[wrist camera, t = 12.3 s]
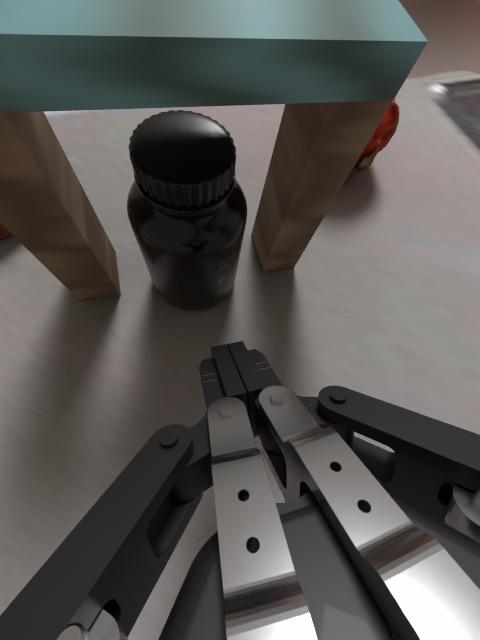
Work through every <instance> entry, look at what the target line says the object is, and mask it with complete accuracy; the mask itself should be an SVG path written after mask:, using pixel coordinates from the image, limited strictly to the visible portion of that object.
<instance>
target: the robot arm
mask: <svg viewBox="0 0 480 640" xmlns="http://www.w3.org/2000/svg"><path fill="white" fill-rule="evenodd" d="M211 352H212V358H211V359H206V360H202V362H201V364H200V367H199V370H200V375H201V381H202V387H203V392H204V397H205V402H206V407H207V412H206V414H205V416H204V418H203V419H202V420H201V421H200V422H198V423H197V424H195V425H194V426H192V427H190V428H186V427H185V426H183V425H178V424H174V425H168V426H165V427H163V428H161V429H160V430H158V431H157V432H156V433H155V434H154V435H153V436H152V437H151V438H150V439H149V440H148V442H147V443H146V444H145V445H144V446H143V448H142V449H141V450H140V451H139V452H138V453H137V455H136V456H135V457H134V458H133V459H132V461H131V462H130V463H129V464H128V465H127V466H126V468H125V469H124V470H123V471H122V472H121V474H120V475H119V476H118V477H117V478H116V480H115V481H114V482H113V483H112V484H111V485H110V487H109V488H108V489H107V490H106V491H105V493H104V494H103V495H102V496H101V497H100V498H99V500H98V501H97V502H96V503H95V504H94V506H93V507H92V508H91V509H90V510H89V511H88V513H87V514H86V515H85V516H84V517H83V519H82V520H81V521H80V522H79V523H78V524H77V526H76V527H75V528H74V529H73V530H72V532H71V533H70V534H69V535H68V536H67V537H66V539H65V540H64V541H63V542H62V543H61V545H60V546H59V547H58V548H57V549H56V550H55V552H54V553H53V554H52V555H51V556H50V558H49V559H48V560H47V561H46V562H45V563H44V565H43V566H42V567H41V568H40V569H39V571H38V572H37V573H36V574H35V575H34V576H33V578H32V579H31V580H30V581H29V582H28V584H27V585H26V586H25V587H24V588H23V590H22V591H21V592H20V593H19V594H18V595H17V597H16V598H15V599H14V600H13V601H12V603H11V604H10V605H9V606H8V607H7V608H6V610H5V611H4V612H3V613H2V614H1V616H0V640H128V639H127V637H128V635H129V633H130V631H131V629H132V628H133V626H134V624H135V622H136V620H137V618H138V616H139V615H140V613H141V611H142V609H143V607H144V605H145V603H146V601H147V600H148V598H149V596H150V594H151V592H152V590H153V588H154V586H155V585H156V583H157V581H158V579H159V577H160V575H161V573H162V571H163V570H164V568H165V566H166V564H167V562H168V560H169V558H170V556H171V555H172V553H173V551H174V549H175V547H176V545H177V543H178V541H179V540H180V538H181V536H182V534H183V532H184V530H185V528H186V527H187V525H188V523H189V521H190V519H191V517H192V515H193V513H194V512H195V510H196V508H197V506H198V504H199V502H200V500H201V498H202V495H203V492H204V491H205V490H207V489H208V488H210V487H211V486H213V487H214V497H215V508H216V518H217V529H218V531H217V532H216V533H215V534H214V535H213V536H212V537H211V538H210V539H209V540H208V541H207V542H206V543H205V544H204V546H203V547H202V548H201V550H200V551H199V552H198V554H197V556H196V557H195V559H194V561H193V563H192V565H191V567H190V569H189V571H188V573H187V576H186V578H185V580H184V582H183V585H182V587H181V589H180V592H179V594H178V596H177V598H176V601H175V603H174V605H173V608H172V610H171V612H170V614H169V617H168V619H167V621H166V624H165V626H164V628H163V630H162V633H161V635H160V637H159V640H480V435H478V434H475V433H473V432H470V431H467V430H464V429H461V428H458V427H456V426H453V425H450V424H447V423H444V422H441V421H439V420H436V419H433V418H430V417H427V416H424V415H421V414H419V413H416V412H413V411H410V410H407V409H404V408H402V407H399V406H396V405H393V404H390V403H387V402H385V401H382V400H379V399H376V398H373V397H370V396H367V395H365V394H362V393H359V392H356V391H353V390H350V389H348V388H345V387H341V386H328V387H325V388H323V389H322V390H321V391H320V392H319V395H318V397H300V396H296V395H295V394H294V392H293V391H292V390H290V389H289V388H287V387H284V386H282V384H281V383H280V381H279V379H278V378H277V376H276V375H275V373H274V371H273V370H272V368H271V367H270V365H269V363H268V362H267V360H266V358H265V357H264V355H263V354H262V353H260V352H259V351H257V350H256V349H253V350H249V351H247V349H246V347H245V345H244V343H243V342H242V341H241V342H236V343H231V344H227V345H221V346H216V347H211ZM354 432H357V433H359V434H361V435H364V436H366V437H368V438H370V439H373V440H375V441H377V442H380V443H382V444H384V445H387V446H389V447H390V448H391V449H393V450H394V451H395V452H389V451H387V450H384V449H382V448H380V447H378V446H375V445H373V444H371V443H369V442H366V441H364V440H362V439H360V438H357V437H355V436H354ZM258 435H259V437H260V439H261V442H262V452H263V455H264V457H265V459H266V461H267V463H268V465H269V467H270V469H271V471H272V473H273V475H274V477H275V480H276V482H277V484H278V486H279V488H280V490H281V492H282V494H283V496H284V499H285V502H286V503H275V500H274V496H273V493H272V489H271V486H270V482H269V479H268V475H267V472H266V468H265V465H264V461H263V458H262V455H261V452H260V450H259V449H257V447H256V443H255V440H254V437H255V436H258Z"/></svg>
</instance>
